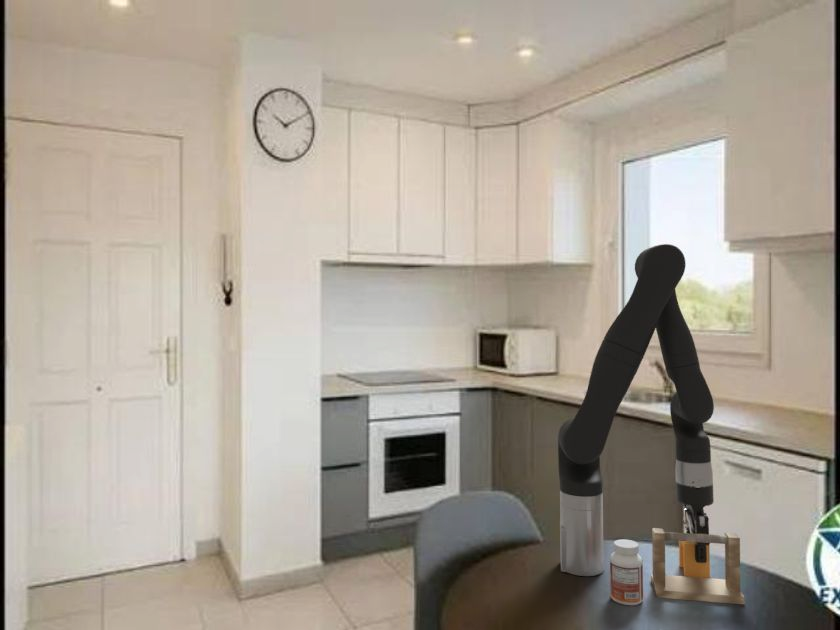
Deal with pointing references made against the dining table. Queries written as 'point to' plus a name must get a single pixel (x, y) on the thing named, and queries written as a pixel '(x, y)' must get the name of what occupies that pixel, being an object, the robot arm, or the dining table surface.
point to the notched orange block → (693, 561)
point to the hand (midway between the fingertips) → (696, 554)
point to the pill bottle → (626, 573)
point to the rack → (697, 586)
